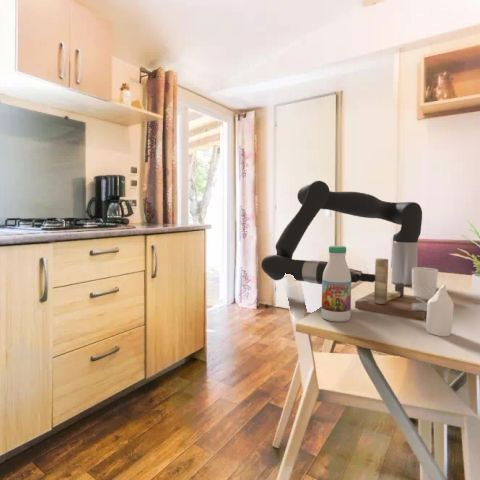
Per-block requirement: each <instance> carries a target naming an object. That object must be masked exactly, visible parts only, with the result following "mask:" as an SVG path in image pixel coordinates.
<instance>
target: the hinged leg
mask: <svg viewBox="0 0 480 480" xmlns="http://www.w3.org/2000/svg"><path fill="white" fill-rule="evenodd" d="M374 265H375V267H374V268H375V269H374V275H375V281H374V291H373V292H374V302H375V303H378V304H386V303H387V301H388V300H391V299H393V298H396V297H403V296H404V295H405V294H404V293H405V290H404V289H405V285H404V283H395V284H394V291H391V292H390V293H387V292H388V284H389V283H388V282H389V281H388V279H389V278H388V277H389V259H388V258H375V262H374Z"/></svg>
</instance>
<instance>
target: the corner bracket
mask: <svg viewBox="0 0 480 480" xmlns="http://www.w3.org/2000/svg"><path fill="white" fill-rule="evenodd" d="M411 310H412V311H427V303H426V302H424V301H423V300H419V303H411Z"/></svg>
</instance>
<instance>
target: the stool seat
mask: <svg viewBox="0 0 480 480" xmlns="http://www.w3.org/2000/svg"><path fill="white" fill-rule="evenodd" d="M387 293H390V292H388V291H387ZM430 299H431V298H424V297H417V296H412V295H411V294H410V295H409V294H404V296H403V297H396V298H393V299H391V300H388V301H387V303H386V304H378V303H375V302H374V291H372V292H371V293H369V294H367V295H365V296H363V297H361V298H359V299H357V300H355V303H354V308H355V309H361V310H366V311H372V312H376V313H382V314H388V315H393V316H398V317H404V318H409V319H413V320H414V319H415V320H419V321H425V319H427V311H412V310H411V303H419V300H423V301H424V302H426V303H427V304H428V301H429V300H430Z"/></svg>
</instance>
